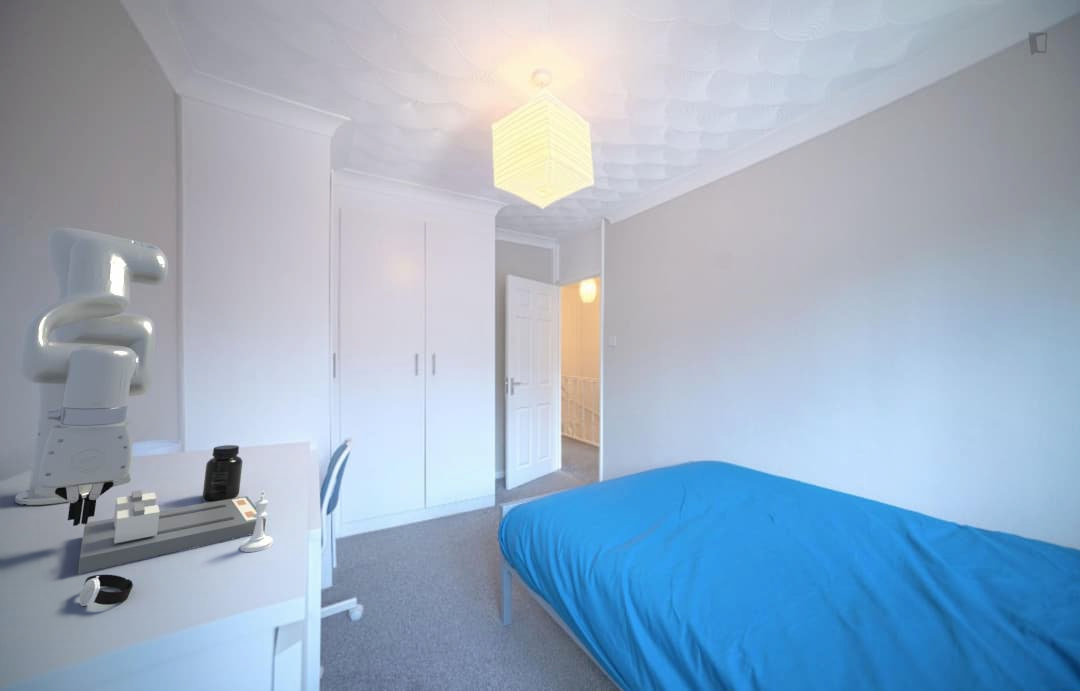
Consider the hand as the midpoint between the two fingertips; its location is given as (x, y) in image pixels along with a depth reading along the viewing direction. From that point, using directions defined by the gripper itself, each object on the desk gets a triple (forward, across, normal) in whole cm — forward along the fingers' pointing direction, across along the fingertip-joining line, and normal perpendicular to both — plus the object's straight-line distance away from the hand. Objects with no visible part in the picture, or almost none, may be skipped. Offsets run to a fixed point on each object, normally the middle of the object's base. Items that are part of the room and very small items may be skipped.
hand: (80, 522), depth 67 cm
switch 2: (+1, +6, -8) cm, 10 cm away
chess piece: (+4, +22, -17) cm, 28 cm away
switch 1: (+1, +6, 0) cm, 7 cm away
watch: (+5, +4, -22) cm, 23 cm away
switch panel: (+4, +12, -4) cm, 14 cm away
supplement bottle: (+4, +21, +14) cm, 26 cm away
